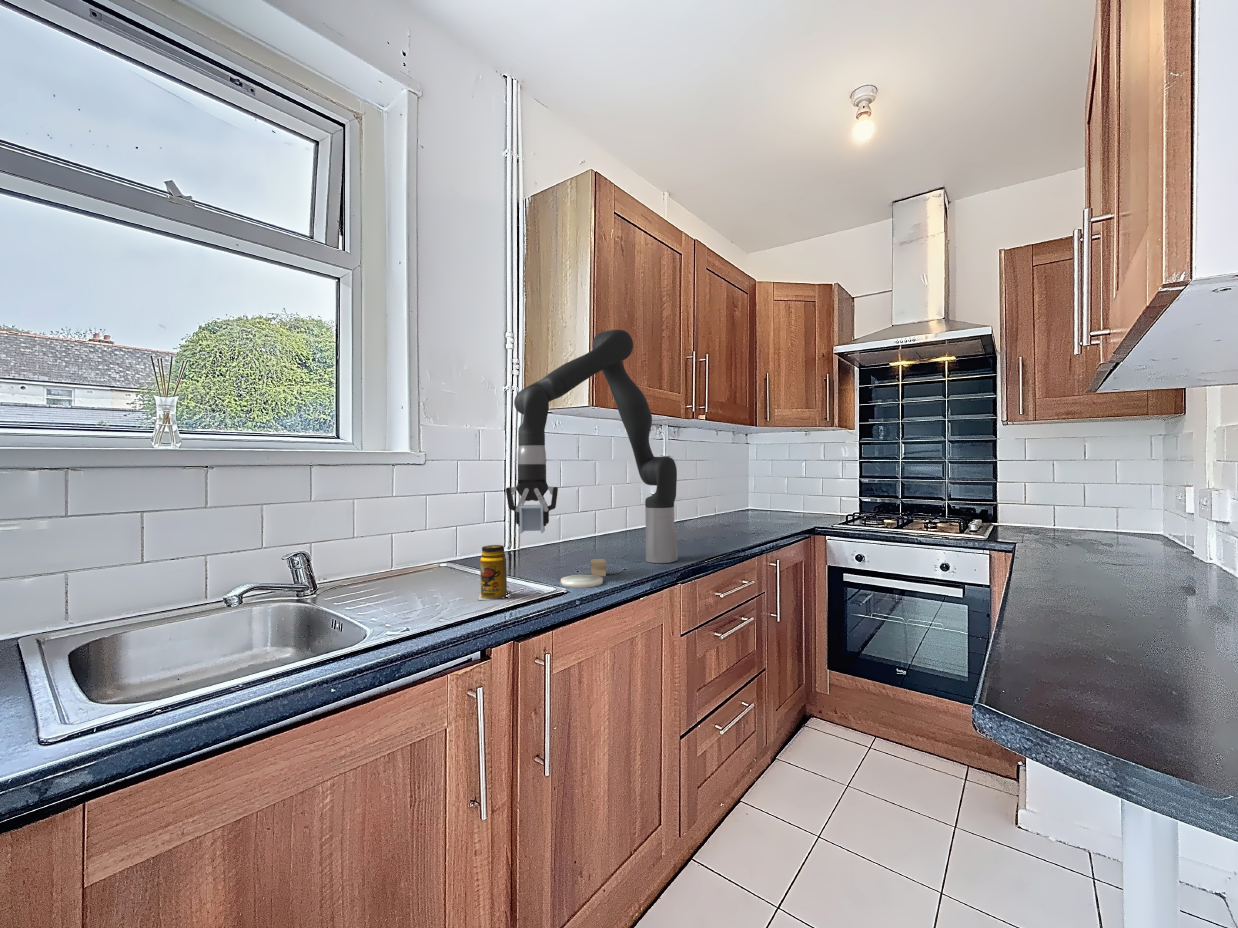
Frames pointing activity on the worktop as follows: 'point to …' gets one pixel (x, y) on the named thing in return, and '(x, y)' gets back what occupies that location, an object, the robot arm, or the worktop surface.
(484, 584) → the condiment
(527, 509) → the cover
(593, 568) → the block
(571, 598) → the worktop surface
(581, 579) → the dish
